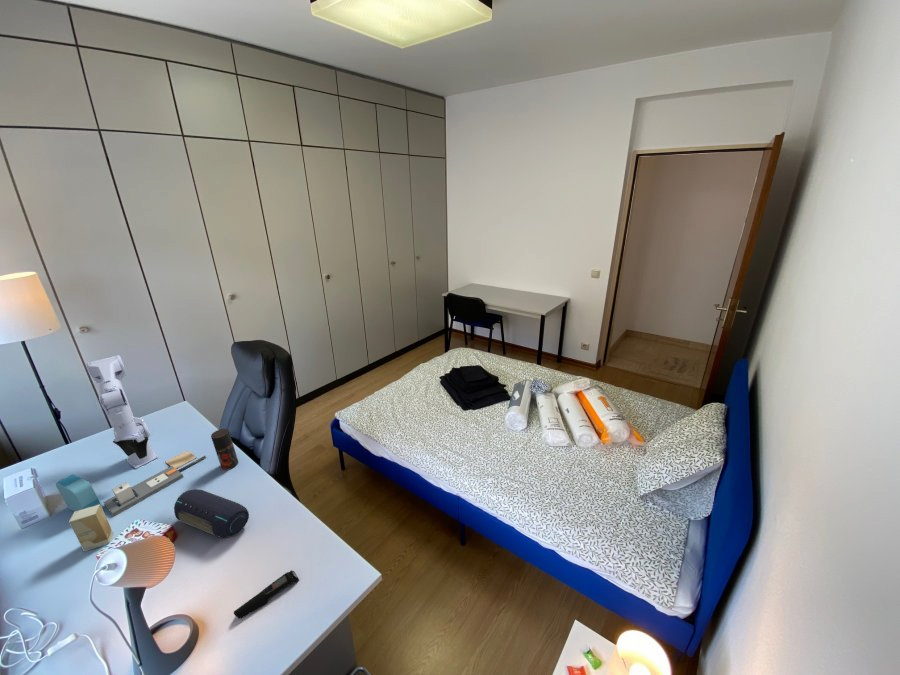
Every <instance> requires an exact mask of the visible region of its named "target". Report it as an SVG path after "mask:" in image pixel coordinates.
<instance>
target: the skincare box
mask: <svg viewBox="0 0 900 675" xmlns="http://www.w3.org/2000/svg"><path fill="white" fill-rule="evenodd" d="M101 505H102V504H101ZM101 505H100V504H99V505H96V506H93V507H88V508H85V509H82V510H79V511H75V512H74V511H73V513H72V515H71V516H70V519H69V521H68V523H69V525H70V526H71V529H72V531H73V533H74V534H75V537H76V539H77V540H78V543H79V544H80V546H81V548H82V550H83V552H86V551H90V550H92V549H93V550H94V549H95V548H99V547H102V546H105V545H108V544H110V542H111V540H112V539H113V536H114V531H113V529H112V526H111V525H110V522H109V520H108V518H107V516H106V514H105V512H104V510H103V506H102V507H101Z"/></svg>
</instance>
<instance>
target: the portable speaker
mask: <svg viewBox="0 0 900 675" xmlns="http://www.w3.org/2000/svg"><path fill="white" fill-rule="evenodd" d="M173 510H174V511H173V512H174V515H175V519H176V520H178V521H180V522H182V523H185V524H187V525H190V526H191V527H194V528H197V529H198V530H201V531H203V532H205V533H208V534H211V535H212V536H215V537H218V538H221V539H227V538H230V537H233V536H236V535H237V534H239V533H240V532H241V531H242V530H243V529H244V528H245V527H246V525H247V523H248V521H249V518H250V514H249V510H248V509H247V508H246V507H245V506H244V505H242V504H240V503H239V502H236V501H233V500H231V499H227V498H225V497H222V496H220V495H217V494H214V493H211V492H209V491H206V490H204V489H197V488H194V489H192V488H191V489H189V490H185V491H184V492H181V494H180V495H179V496H178V497H177V498H176V501H175V503H174V507H173Z"/></svg>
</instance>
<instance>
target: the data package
mask: <svg viewBox="0 0 900 675" xmlns="http://www.w3.org/2000/svg"><path fill="white" fill-rule="evenodd" d="M55 487H56V488H57V490H58V492H59V494H60V496H61V497H62V499H63V501H64V503H65V504H66V506H67V507H68V509H69V510H71V511H72V512H73V513H74V512H75V511H79V510H82V509H85V508H88V507H93V506H96V505H99V504H100V505H101V507H102V508H103V506H102V503H101V502H100V501H101V500H100V499H99V498H98V496H97V494H96V492H95V490H94V488H93V485H92V484H91V483H90V482H89V481H88V480H85V479H83V478H81V477H79V476H77V475H76V474H70V475H68V476H67V477H64V478H62V479H60V480H59V481H57V482H55Z"/></svg>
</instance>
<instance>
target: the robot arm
mask: <svg viewBox="0 0 900 675" xmlns="http://www.w3.org/2000/svg"><path fill="white" fill-rule="evenodd" d="M85 364H86V367H87V370H88V373H89V375H90V377H91V378H92V379H93V381H94V382H95V383H96V384H98V388H99V393H100V396H98V399H99V400H98V401H99V403H100V406H101V408H102V409H103V410H104V412H105V415H106V416H108V418H109V421H110V423H111V425H112V427H113V436H114V439H113V441H112V443H113V444H115V445H116V446H118V447H119V448H120V449H121V450H122V451H123V453H124V454H125V455H126V456H127V457H128V458H127V459H126V461H127V463H129V465H131V467H133V468H134V469H138V468H140V467H142V466H145V465H147V464H148V463H151V462H152V461H154V460H156V459H158V458H159V455H158V454H156V453H155V452H154V450H153V448H152V446H151V443H150V441H149V438H150V437H151V432H150V430H149V427H148V425H147V423H146V420H145V419H143V418H141V417H137V416H136V417H135V416H134V414H133V411H132V408H131V406H130V405H131V404H130V403H129V400H128V397H127V395H126V392H125V390H124V387H123V384H122V382H123V380H122V379H123V378H124V377H126V376H127V371H126V368H125V365H124V361H123V359H122V357H121V355H119V354H116V355H114V356H110V357H107V358H102V359H101V358H100V359H97V360H96V359H95V360H93V361H87V362H86V363H85Z"/></svg>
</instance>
